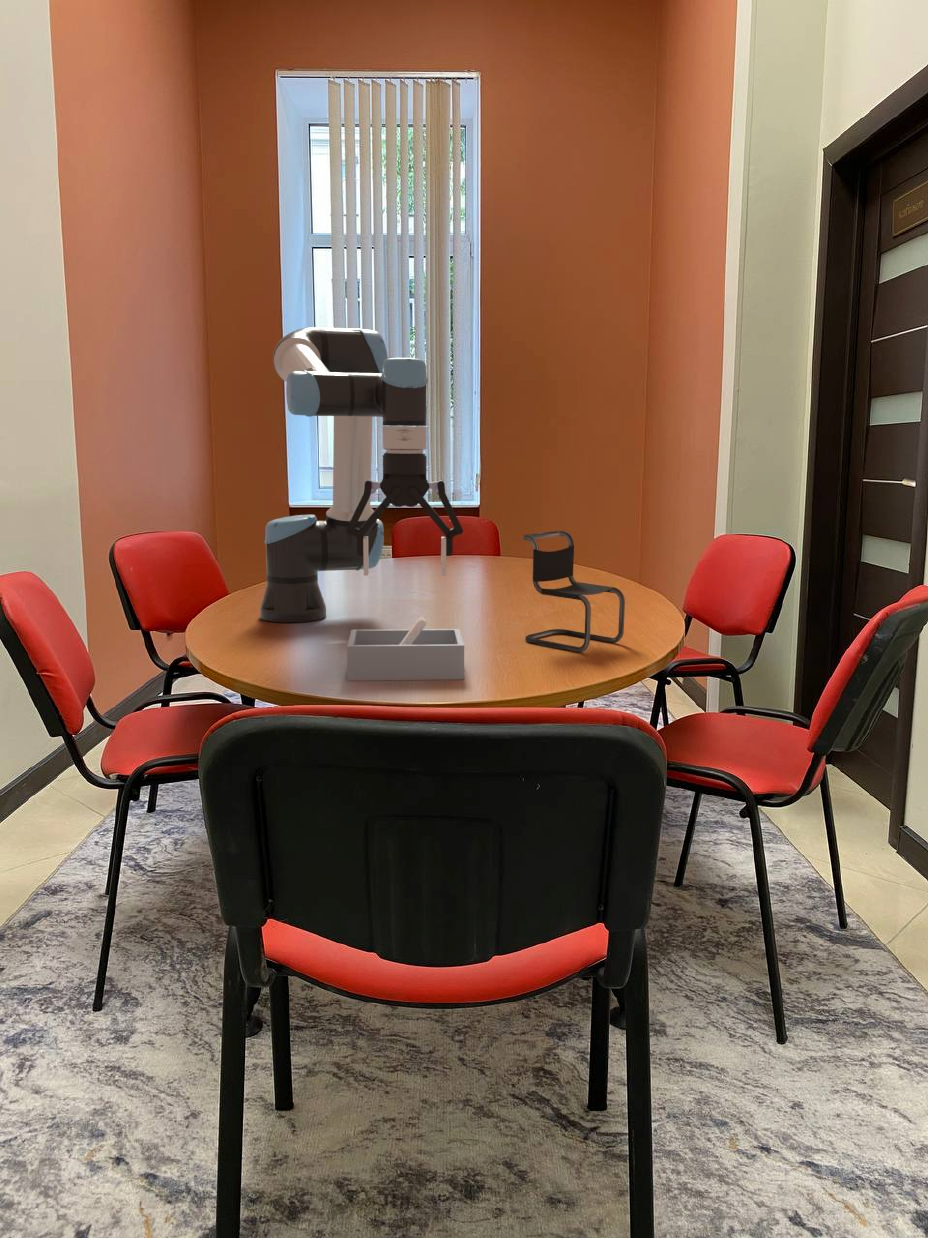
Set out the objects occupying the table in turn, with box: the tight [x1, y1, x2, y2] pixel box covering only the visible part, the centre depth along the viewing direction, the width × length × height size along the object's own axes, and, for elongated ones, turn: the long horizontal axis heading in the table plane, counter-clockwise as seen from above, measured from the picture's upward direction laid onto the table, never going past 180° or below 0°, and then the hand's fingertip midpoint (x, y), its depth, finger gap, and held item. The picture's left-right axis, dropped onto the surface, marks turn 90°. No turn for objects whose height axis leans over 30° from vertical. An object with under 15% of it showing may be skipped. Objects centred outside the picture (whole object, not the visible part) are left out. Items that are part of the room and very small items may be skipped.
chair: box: [523, 530, 626, 653], centre depth 184 cm, size 13×17×22 cm
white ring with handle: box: [399, 616, 428, 645], centre depth 162 cm, size 8×12×7 cm
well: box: [346, 628, 465, 682], centre depth 162 cm, size 14×20×6 cm
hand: (404, 574), depth 160 cm, fingers open, 13 cm apart
